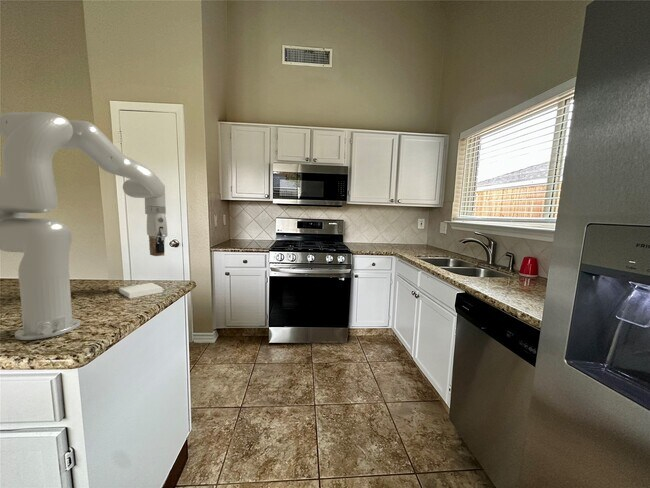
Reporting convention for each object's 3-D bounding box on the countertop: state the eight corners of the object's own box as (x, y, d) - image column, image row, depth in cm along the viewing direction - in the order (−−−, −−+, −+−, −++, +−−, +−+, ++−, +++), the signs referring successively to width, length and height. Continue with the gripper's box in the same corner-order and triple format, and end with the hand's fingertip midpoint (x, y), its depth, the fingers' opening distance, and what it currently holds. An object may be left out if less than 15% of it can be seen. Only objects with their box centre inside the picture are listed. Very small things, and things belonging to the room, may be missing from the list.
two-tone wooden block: (164, 255, 115) (163, 237, 114) (155, 256, 112) (154, 237, 111) (158, 254, 118) (158, 236, 117) (150, 254, 115) (149, 236, 114)
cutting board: (162, 291, 112) (162, 287, 112) (129, 298, 103) (129, 293, 103) (151, 287, 119) (151, 282, 119) (119, 292, 110) (119, 287, 110)
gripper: (173, 211, 111) (174, 253, 113) (156, 211, 121) (158, 249, 123) (154, 210, 105) (155, 254, 107) (138, 210, 115) (139, 250, 117)
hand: (157, 251), depth 115 cm, fingers closed on two-tone wooden block, 6 cm apart
